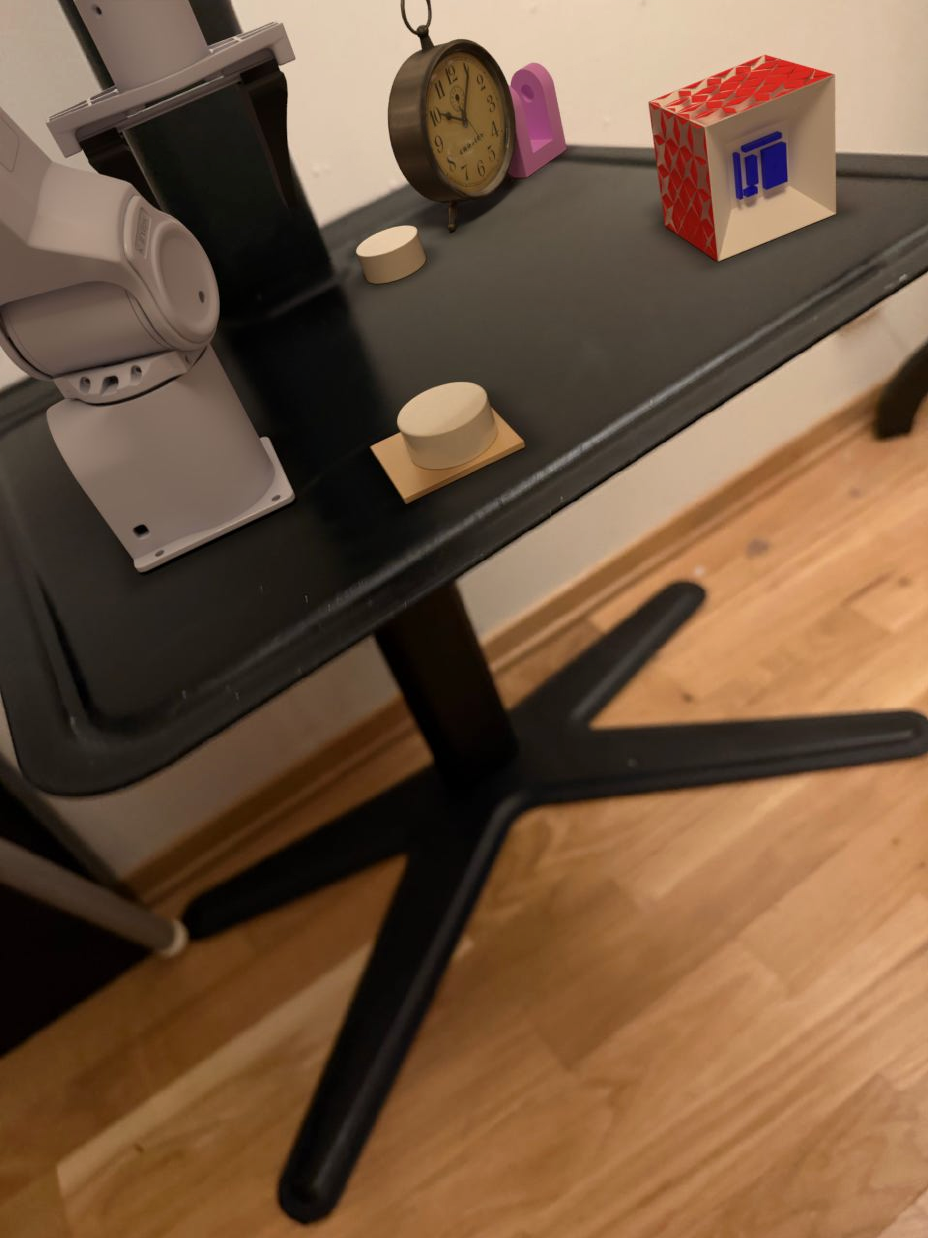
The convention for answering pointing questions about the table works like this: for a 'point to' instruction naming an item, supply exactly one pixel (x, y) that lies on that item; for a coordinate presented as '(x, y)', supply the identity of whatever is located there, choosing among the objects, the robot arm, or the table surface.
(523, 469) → the table surface
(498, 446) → the placemat
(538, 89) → the bracket
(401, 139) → the alarm clock
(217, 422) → the robot arm
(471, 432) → the short cream cylinder
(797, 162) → the puzzle cube
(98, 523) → the table surface
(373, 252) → the beige round disc
